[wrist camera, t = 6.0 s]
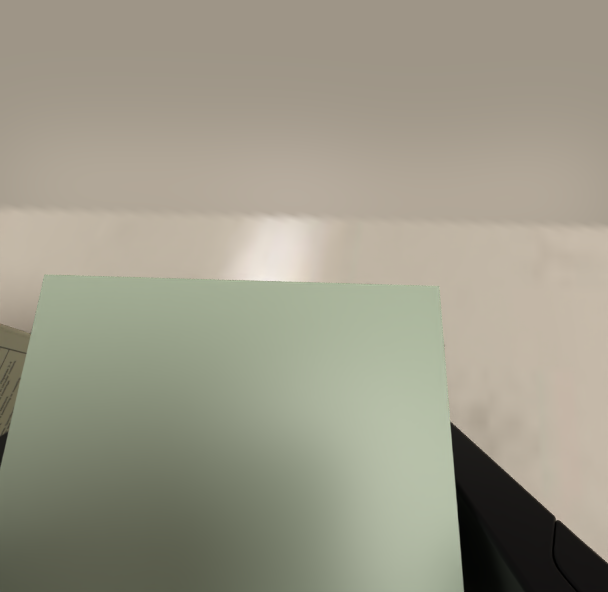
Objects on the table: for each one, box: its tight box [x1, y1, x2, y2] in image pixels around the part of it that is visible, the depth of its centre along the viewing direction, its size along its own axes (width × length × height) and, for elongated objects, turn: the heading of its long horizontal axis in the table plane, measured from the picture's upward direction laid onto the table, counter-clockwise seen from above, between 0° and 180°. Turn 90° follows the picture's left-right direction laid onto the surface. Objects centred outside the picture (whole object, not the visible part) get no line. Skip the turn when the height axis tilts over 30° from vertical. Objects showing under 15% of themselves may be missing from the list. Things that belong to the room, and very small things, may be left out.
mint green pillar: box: [0, 275, 464, 592], centre depth 10 cm, size 6×6×10 cm
